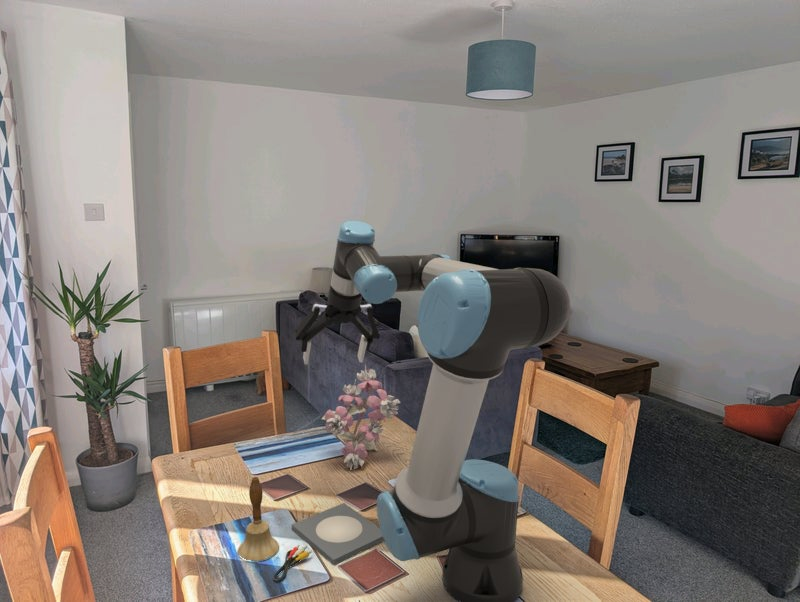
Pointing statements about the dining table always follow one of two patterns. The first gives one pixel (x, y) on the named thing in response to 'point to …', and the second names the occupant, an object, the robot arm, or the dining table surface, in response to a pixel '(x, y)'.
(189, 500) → the dining table surface
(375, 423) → the flower
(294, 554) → the composite cable
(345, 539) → the board
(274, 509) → the dining table surface
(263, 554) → the hand bell
